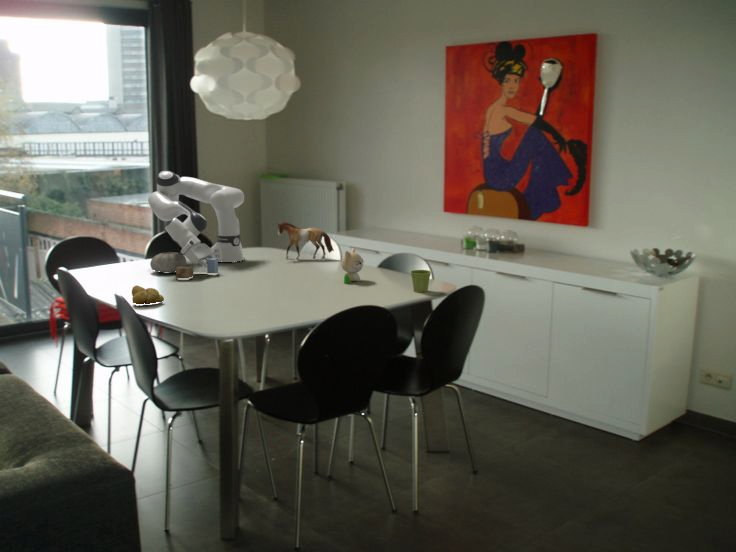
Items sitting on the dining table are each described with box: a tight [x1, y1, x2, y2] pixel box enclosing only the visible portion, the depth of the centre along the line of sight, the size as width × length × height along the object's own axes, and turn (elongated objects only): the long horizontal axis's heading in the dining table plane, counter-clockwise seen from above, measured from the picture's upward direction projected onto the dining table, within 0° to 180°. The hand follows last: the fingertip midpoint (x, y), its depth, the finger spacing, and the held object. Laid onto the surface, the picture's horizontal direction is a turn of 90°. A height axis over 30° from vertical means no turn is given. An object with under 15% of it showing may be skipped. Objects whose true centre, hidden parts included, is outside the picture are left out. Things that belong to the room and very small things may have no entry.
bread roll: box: [131, 285, 165, 304], centre depth 332 cm, size 13×10×8 cm
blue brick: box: [206, 258, 219, 274], centre depth 396 cm, size 4×4×8 cm
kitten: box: [341, 247, 365, 285], centre depth 375 cm, size 15×10×15 cm, turn 161°
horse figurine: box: [275, 222, 335, 260], centre depth 435 cm, size 31×8×21 cm, turn 85°
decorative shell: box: [149, 251, 187, 273], centre depth 405 cm, size 18×18×10 cm
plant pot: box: [409, 269, 432, 293], centre depth 352 cm, size 9×9×9 cm
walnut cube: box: [175, 265, 195, 278], centre depth 386 cm, size 6×6×6 cm
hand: (211, 265), depth 395 cm, fingers open, 8 cm apart
